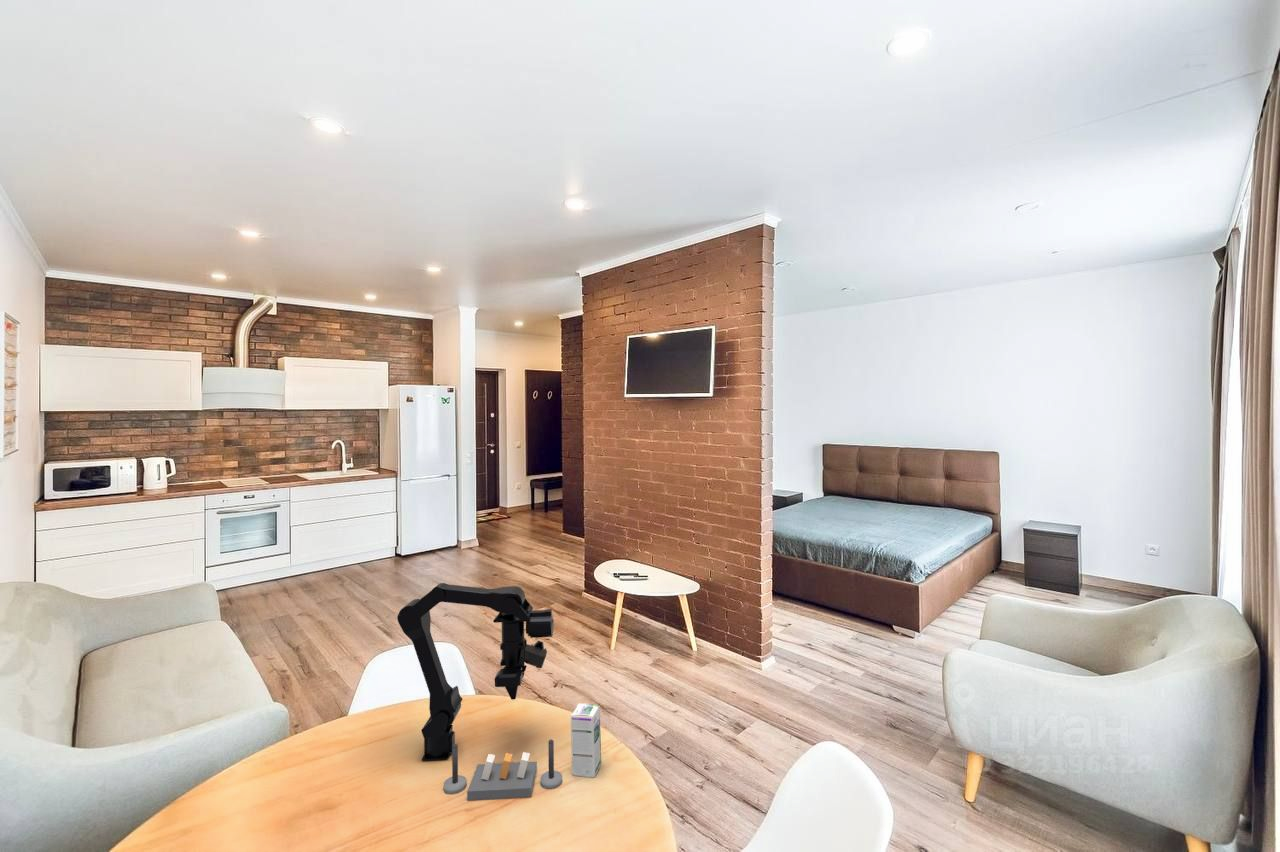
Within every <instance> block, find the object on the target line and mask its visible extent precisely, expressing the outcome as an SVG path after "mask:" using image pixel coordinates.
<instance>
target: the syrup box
mask: <svg viewBox="0 0 1280 852" xmlns="http://www.w3.org/2000/svg"><path fill="white" fill-rule="evenodd" d="M600 707H601V706H600V705H598V704H594V703H578V704H577V706H576V707H575V708H574V710H573V712H572V713H571V714H570V739H571V741H570V742H571V743H570V744H571V746H570V747H571V774H572V776H576V777H583V778H591V779H592V778H593V779H594V778H596V775H597V774H598V772H599V770H600V767H601V765H602V748H601V747H602V741H601V739H602V738H601V711H600V710H601V708H600Z"/></svg>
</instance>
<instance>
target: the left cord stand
mask: <svg viewBox="0 0 1280 852" xmlns="http://www.w3.org/2000/svg"><path fill="white" fill-rule="evenodd" d="M458 749H459V747H458V744H457V743H455V744H454V745H453V746H452V753H451V757H452V758H451V761H452V762H451V764H452V765H451V766H452V768H451V769H452V772H451V773H452V774H451V775H452V776H451V777H448V778H447V779H446V780H444V782H443V792H444V793H445V794H446V795H456V794H459V793H462V792H463V791H465V789H467V787H468V786H467V785H468V784H467V777H466V776H465V775H460V774H459V771H458V770H459V769H458V768H459V762H458V761H459V757H458V756H459V755H458V754H459V753H458Z"/></svg>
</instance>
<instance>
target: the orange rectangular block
mask: <svg viewBox="0 0 1280 852" xmlns="http://www.w3.org/2000/svg"><path fill="white" fill-rule="evenodd" d="M512 758H513V753H510V752H509V753H507V752H506V753H505V755H504V758H503V761H502V763H503V765H502V769H501V772H500V776H499V778H502V779H506V778H507V774H508V771H509V767H510V763H512Z"/></svg>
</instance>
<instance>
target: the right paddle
mask: <svg viewBox="0 0 1280 852" xmlns="http://www.w3.org/2000/svg"><path fill="white" fill-rule="evenodd" d="M530 754H531V753H529V752H525V751H523V752H522V756H521V759H520V761H519V762H520V766H519V770H518V774H517V777H519V778H524V775H525V771H526V767H527V763H528V762H529V758H530Z"/></svg>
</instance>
